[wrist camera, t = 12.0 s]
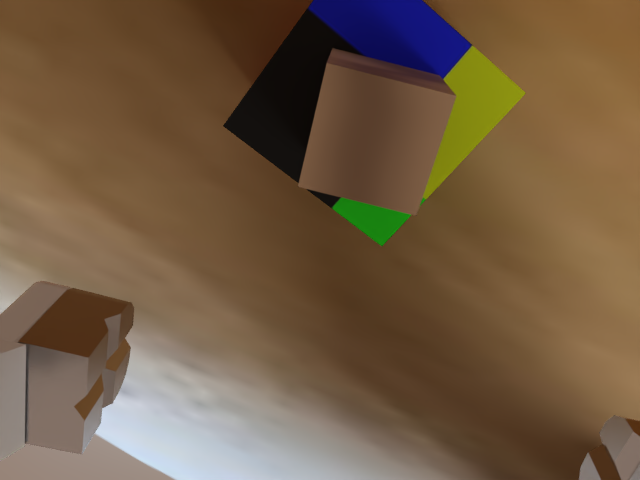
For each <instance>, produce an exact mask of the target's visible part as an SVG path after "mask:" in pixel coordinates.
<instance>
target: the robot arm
mask: <svg viewBox="0 0 640 480" xmlns="http://www.w3.org/2000/svg"><path fill="white" fill-rule="evenodd" d="M133 318H134V307H133V304H132V303H131V302H127V301H123V300H119V299H115V298H111V297H107V296H103V295H99V294H95V293H91V292H87V291H83V290H79V289H75V288H70V287H67V286H63V285H59V284H54V283H50V282H46V281H40V282H36V283H34V284H33V285H32V286H31V287H30V288H29V289H28V290H26V291H25V292H24V293H23V294H22V295H21V296H20V297H19V298H18V299H17V300H16V301H15V302H13V303H12V304H11V305H10V306H9V307H8V308H7V309H6V310H5V311H4V312H3V313H1V314H0V461H2V460H3V459H5V458H7V457H8V456H10V455H12V454H13V453H15V452H17V451H18V450H20V449H21V448H23V447H24V446H25V444H31V445H36V446H41V447H46V448H52V449H57V450H62V451H67V452H72V453H77V454H82V453H83V452H84V450H85V448H86V447H87V445H88V443H89V442H90V440H91V438H92V437H93V435H94V433H95V432H96V430H97V428H98V427H99V425H100V423H101V416H102V408H104V407H106V406H108V405H110V404H112V403H113V401H114V400H115V398H116V396H117V394H118V392H119V391H120V388H121V385H122V383H123V380H124V378H125V375H126V371H127V367H128V363H129V357H130V349H131V347H130V346H129V344H128V342H127V341H126V339H125V337H126V335H127V334H128V332H129V331H130V329H131V328H132V326H133ZM599 433H600V437H601V440H602V445H600V446H599V447H597V448H595V449H593V450H591V451H589V452H588V453H587V455H586V457H585V459H584V461H583V463H582V465H581V467H580V475H579V480H640V421H639V420H634V419H630V418H625V417H621V416H616V415H614V416H613V417H611V418H610V419H609V420H607V421H606V422H605V424H604V426H603V427H602V429H601V431H600V432H599Z"/></svg>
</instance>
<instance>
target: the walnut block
mask: <svg viewBox="0 0 640 480" xmlns="http://www.w3.org/2000/svg"><path fill="white" fill-rule="evenodd" d="M455 99H456V95H455V93H454V92H453V91H452V90H451V89H450V87H449V86H448V85H447V84H446V83H445V81H444V80H443V79H442V78H441V76H440V75H436V74H432V73H428V72H424V71H420V70H416V69H413V68H409V67H405V66H401V65H397V64H393V63H389V62H385V61H381V60H377V59H374V58H370V57H366V56H362V55H358V54H354V53H350V52H346V51H342V50H338V49H335V48H332V51H331V53H330V56H329V59H328V61H327V64H326V69H325V73H324V77H323V81H322V86H321V90H320V94H319V99H318V103H317V107H316V111H315V116H314V120H313V124H312V129H311V133H310V137H309V141H308V146H307V150H306V154H305V159H304V163H303V167H302V171H301V176H300V180H299V184H298V187H301V188H305V189H309V190H313V191H317V192H321V193H325V194H329V195H333V196H337V197H341V198H346V199H350V200H354V201H358V202H362V203H366V204H370V205H374V206H378V207H382V208H386V209H390V210H394V211H398V212H403V213H407V214H411V215H415V216H417V213H418V210H419V207H420V204H421V201H422V198H423V195H424V192H425V189H426V186H427V183H428V180H429V177H430V174H431V171H432V168H433V165H434V162H435V159H436V156H437V153H438V150H439V147H440V144H441V141H442V138H443V135H444V132H445V129H446V126H447V123H448V120H449V117H450V114H451V111H452V108H453V105H454V102H455Z"/></svg>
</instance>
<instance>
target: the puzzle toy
mask: <svg viewBox="0 0 640 480" xmlns="http://www.w3.org/2000/svg"><path fill="white" fill-rule="evenodd" d="M332 48H335V49H338V50H342V51H346V52H350V53H354V54H358V55H362V56H366V57H370V58H374V59H377V60H381V61H385V62H389V63H393V64H397V65H401V66H405V67H409V68H413V69H416V70H420V71H424V72H428V73H432V74H436V75H440V76H441V78H442V79H443V80H444V81H445V83H446V84H447V85H448V86H449V87H450V89H451V90H452V91H453V92H454V93H455V95H456V99H455V102H454V105H453V108H452V111H451V114H450V117H449V120H448V123H447V126H446V129H445V132H444V135H443V138H442V141H441V144H440V147H439V150H438V153H437V156H436V159H435V162H434V165H433V168H432V171H431V174H430V177H429V180H428V183H427V186H426V189H425V192H424V195H423V198H422V201H421V204H422V203H423V202H424V201H425V200H426V199H427V198H428V197H429V196H430V195H431V194H432V193H433V192H434V190H435V189H436V188H437V187H438V186H439V185H440V184H441V183H442V182H443V181H444V180H445V179H446V178H447V177H448V176H449V174H450V173H451V172H452V171H453V170H454V169H455V168H456V167H457V166H458V165H459V164H460V163H461V162H462V161H463V160H464V159H465V157H466V156H467V155H468V154H469V153H470V152H471V151H472V150H473V149H474V148H475V147H476V146H477V145H478V144H479V143H480V141H481V140H482V139H483V138H484V137H485V136H486V135H487V134H488V133H489V132H490V131H491V130H492V129H493V128H494V127H495V125H496V124H497V123H498V122H499V121H500V120H501V119H502V118H503V117H504V116H505V115H506V114H507V113H508V112H509V111H510V110H511V108H512V107H513V106H514V105H515V104H516V103H517V102H518V101H519V100H520V99H521V98H522V97H523V96H524V95H525V94H526V93H525V92H524V91H523V90H522V89H521V88H520V87H519V86H517V85H516V84H515V83H514V82H513V81H512V80H511V79H510V78H508V77H507V76H506V75H505V74H504V73H503V72H502V71H501V70H500V69H498V68H497V67H496V66H495V65H494V64H493V63H492V62H491V61H489V60H488V59H487V58H486V57H485V56H484V55H483V54H482V53H481V52H479V51H478V50H477V49H476V48H475V47H474V46H473V45H472V44H470V43H469V42H468V41H467V40H466V39H465V38H464V37H463V36H462V35H460V34H459V33H458V32H457V31H456V30H455V29H454V28H453V27H451V26H450V25H449V24H448V23H447V22H446V21H445V20H444V19H443V18H441V17H440V16H439V15H438V14H437V13H436V12H435V11H434V10H432V9H431V8H430V7H429V6H428V5H427V4H426V3H425V2H424V1H422V0H313V1H312V3H311V4H310V6H309V7H308V8H307V10H306V11H305V13H304V14H303V15H302V17H301V18H300V20H299V21H298V22H297V24H296V25H295V26H294V28H293V29H292V31H291V32H290V33H289V35H288V36H287V38H286V39H285V40H284V42H283V43H282V45H281V46H280V47H279V49H278V50H277V52H276V53H275V54H274V56H273V57H272V59H271V60H270V61H269V63H268V64H267V65H266V67H265V68H264V70H263V71H262V72H261V74H260V75H259V77H258V78H257V79H256V81H255V82H254V84H253V85H252V86H251V88H250V89H249V91H248V92H247V93H246V95H245V96H244V98H243V99H242V100H241V102H240V103H239V105H238V106H237V107H236V109H235V110H234V111H233V113H232V114H231V116H230V117H229V118H228V120H227V121H226V123H225V124H224V125H223V126H224V127H225V128H227V129H228V130H229V131H230V132H232V133H233V134H234V135H236V136H237V137H238V138H240V139H241V140H242V141H244V142H245V143H246V144H248V145H249V146H250V147H252V148H253V149H254V150H255V151H257V152H258V153H259V154H261V155H262V156H263V157H265V158H266V159H267V160H269V161H270V162H271V163H273V164H274V165H275V166H277V167H278V168H279V169H281V170H282V171H283V172H284V173H286V174H287V175H288V176H290V177H291V178H292V179H294V180H295V181H296V182H298V183H299V180H300V176H301V171H302V167H303V163H304V159H305V154H306V150H307V146H308V141H309V137H310V133H311V129H312V124H313V120H314V116H315V111H316V107H317V103H318V99H319V94H320V90H321V86H322V81H323V77H324V73H325V69H326V64H327V61H328V59H329V56H330V53H331V51H332ZM307 190H308V191H310V192H311V193H312V194H313V195H315V196H316V197H317V198H319V199H320V200H321V201H323V202H324V203H325V204H327V205H328V206H329V207H331V208H332V209H333V210H335V211H336V212H337V213H339V214H340V215H341V216H342V217H344V218H345V219H346V220H348V221H349V222H350V223H352V224H353V225H354V226H356V227H357V228H358V229H360V230H361V231H362V232H364V233H365V234H366V235H368V236H369V237H370V238H371V239H373V240H374V241H375V242H377V243H378V244H379V245H381V246H383V245H384V244H385V243H386V242H387V240H388V239H389V238H390V237H391V236H392V235H393V234H394V233H395V232H396V231H397V230H398V229H399V228H400V227H401V226H402V225H403V223H404V222H405V221H406V220H407V219H408V218H409V217H410V216H411V214H407V213H403V212H398V211H394V210H390V209H386V208H382V207H378V206H374V205H370V204H366V203H362V202H358V201H354V200H350V199H346V198H341V197H337V196H333V195H329V194H325V193H321V192H317V191H313V190H309V189H307ZM421 204H420V205H421Z"/></svg>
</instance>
